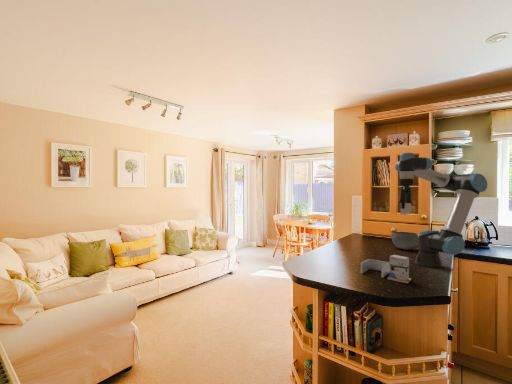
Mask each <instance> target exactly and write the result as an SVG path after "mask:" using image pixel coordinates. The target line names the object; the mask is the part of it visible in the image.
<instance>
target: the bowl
mask: <svg viewBox="0 0 512 384" xmlns="http://www.w3.org/2000/svg"><path fill="white" fill-rule="evenodd" d="M391 241H392V243H393V245H394V246H395V247H396V248H397V249H400V250H402V249H403V251H409V250H412V249H415V248H417V246H419V234H417V232H416V233H415V232H406V231H392V233H391Z"/></svg>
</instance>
